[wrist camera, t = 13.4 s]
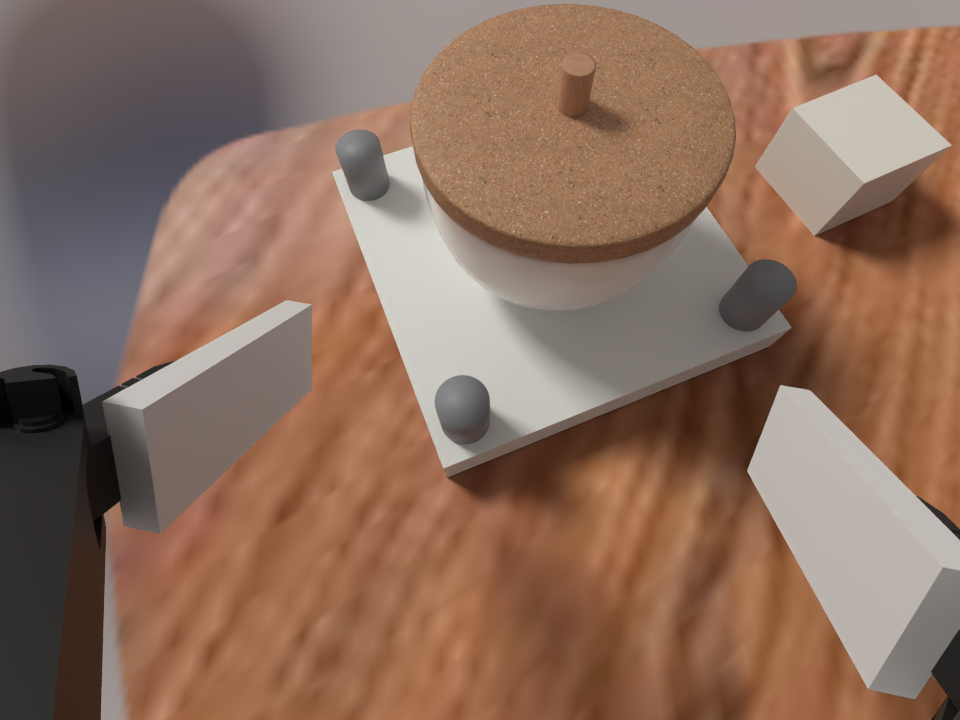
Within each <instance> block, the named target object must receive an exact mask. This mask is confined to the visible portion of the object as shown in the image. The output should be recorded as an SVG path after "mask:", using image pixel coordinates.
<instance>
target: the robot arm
mask: <svg viewBox="0 0 960 720" xmlns="http://www.w3.org/2000/svg"><path fill="white" fill-rule="evenodd" d="M311 390H312V305H311V304H305V303H299V302H293V301H288V300H286V301H284V302H283V303H281V304H279V305H277V306H275V307H273V308H272V309H270V310H268V311H266V312H264V313H263V314H261V315H259V316H257V317H255V318H253V319H252V320H250V321H248V322H246V323H244V324H243V325H241V326H239V327H237V328H235V329H233V330H232V331H230V332H228V333H226V334H224V335H222V336H221V337H219V338H217V339H215V340H213V341H212V342H210V343H208V344H206V345H204V346H202V347H201V348H199V349H197V350H195V351H193V352H192V353H190V354H188V355H186V356H184V357H182V358H181V359H179V360H176V361H172V362H169V363H165V364H162V365H158V366H155V367H153V368H151V369H149V370H147V371H145V372H143V373H141V374H140V375H138V376H136V379H135V378H132V379H130V380H128V381H126V382H125V383H123V384H122V386H117V387H115V388H113V389H111V390H110V391H108V392H106V393H104V394H102V395H100V396H98V397H96V398H95V399H93V400H91V401H89V402H87V403H85V404H83V405H82V401H81V396H80V390H79V386H78V380H77V376H76V373H75V371H74V370H72V369H69V368H67V367H64V366H56V365H32V366H25V367H19V368H13V369H10V370H6V371H2V372H0V720H101V718H100V717H101V686H102V684H101V683H102V652H103V651H102V650H103V619H104V585H105V551H106V525H105V520H104V515H103V514H104V513H105V512H106V511H108V510H109V509H110V508H111V507H113V506H114V505H115V504H117V503H118V502H119V501H120V506H121V512H122V517H123V523H124V526H127V527H132V528H136V529H141V530H145V531H150V532H155V533H159V534H160V533H161V532H163V531H164V530H165V529H166V528H167V527H168V526H169V525H170V524H171V523H172V522H173V521H174V520H175V519H176V518H177V517H178V516H179V515H180V514H181V513H182V512H184V511H185V510H186V509H187V508H188V507H189V506H190V505H191V504H192V503H193V502H194V501H195V500H196V499H197V498H198V497H199V496H200V495H201V494H202V493H203V492H205V491H206V490H207V489H208V488H209V487H210V486H211V485H212V484H213V483H214V482H215V481H216V480H217V479H218V478H219V477H220V476H221V475H222V474H223V473H225V472H226V471H227V470H228V469H229V468H230V467H231V466H232V465H233V464H234V463H235V462H236V461H237V460H238V459H239V458H240V457H241V456H242V455H243V454H244V453H246V452H247V451H248V450H249V449H250V448H251V447H252V446H253V445H254V444H255V443H256V442H257V441H258V440H259V439H260V438H261V437H262V436H263V435H264V434H265V433H267V432H268V431H269V430H270V429H271V428H272V427H273V426H274V425H275V424H276V423H277V422H278V421H279V420H280V419H281V418H282V417H283V416H284V415H285V414H286V413H288V412H289V411H290V410H291V409H292V408H293V407H294V406H295V405H296V404H297V403H298V402H299V401H300V400H301V399H302V398H303V397H304V396H305V395H306V394H307V393H309V392H310V391H311ZM747 472H748V474H749V475H750V477H751V479H752V481H753V483H754V484H755V486H756V488H757V490H758V492H759V493H760V495H761V497H762V499H763V501H764V502H765V504H766V506H767V508H768V510H769V511H770V513H771V515H772V517H773V519H774V521H775V522H776V524H777V526H778V528H779V530H780V531H781V533H782V535H783V537H784V539H785V540H786V542H787V544H788V546H789V548H790V549H791V551H792V553H793V555H794V557H795V558H796V560H797V562H798V564H799V566H800V567H801V569H802V571H803V573H804V575H805V576H806V578H807V580H808V582H809V584H810V585H811V587H812V589H813V591H814V593H815V594H816V596H817V598H818V600H819V602H820V603H821V605H822V607H823V609H824V611H825V612H826V614H827V616H828V618H829V620H830V621H831V623H832V625H833V627H834V629H835V630H836V632H837V634H838V636H839V638H840V640H841V641H842V643H843V645H844V647H845V649H846V650H847V652H848V654H849V656H850V658H851V659H852V661H853V663H854V665H855V667H856V668H857V670H858V672H859V674H860V676H861V677H862V679H863V681H864V683H865V685H866V686H867V688H868V689H870V690H874V691H879V692H883V693H888V694H892V695H897V696H901V697H906V698H911V699H916V698H917V696H918V695H919V693H920V692H921V690H922V689H923V687H924V686H925V684H926V683H927V681H928V680H929V678H930V677H931V675H932V674H933V675H934V677H935V678H936V680H937V681H938V683H939V684H940V685H941V687H942V688H943V690H944V691H945V693H946V694H947V696H948V697H947V698H946V699H945V701H944V702H943V704H942V705H941V707H940V708H939V709H938V711H937V712H936V714H935V715H934V716H933V718H932V719H931V720H960V529H959V528H958V527H957V526H956V525H955V524H954V523H953V522H952V521H951V520H950V519H949V518H948V517H947V516H946V515H945V514H944V513H942V512H940V511H939V510H937V509H936V508H934V507H933V506H931V505H930V504H928V503H927V502H925V501H924V500H922V499H921V498H919V497H918V496H915V495H914V494H913V493H912V492H911V491H910V490H909V489H908V488H907V487H906V486H905V485H904V484H903V483H902V482H901V481H900V480H899V479H898V478H897V477H896V476H895V475H894V474H893V473H892V472H891V471H890V470H889V469H888V468H887V467H886V466H885V465H884V464H883V463H882V462H881V461H880V460H879V459H878V458H877V457H876V456H875V455H874V454H873V453H872V452H871V451H870V450H869V449H868V448H867V447H866V446H865V445H864V444H863V443H862V442H861V441H860V440H859V439H858V438H857V437H856V436H855V435H854V434H853V433H852V432H851V431H850V430H849V429H848V428H847V427H846V426H845V425H844V424H843V423H842V422H841V421H840V420H839V419H838V418H837V417H836V416H835V415H834V414H833V413H832V412H831V411H830V410H829V409H828V408H827V407H826V406H825V405H824V404H823V403H822V402H821V401H820V400H819V399H818V398H817V397H816V396H815V395H814V394H813V393H812V392H811V391H810V390H806V389H800V388H794V387H788V386H783V385H780V387H779V390H778V392H777V395H776V398H775V400H774V403H773V405H772V408H771V411H770V413H769V416H768V418H767V421H766V423H765V426H764V429H763V431H762V434H761V436H760V439H759V442H758V444H757V447H756V449H755V452H754V454H753V457H752V460H751V462H750V465H749V467H748V470H747Z"/></svg>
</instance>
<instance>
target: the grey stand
mask: <svg viewBox="0 0 960 720" xmlns="http://www.w3.org/2000/svg"><path fill="white" fill-rule="evenodd" d="M336 153H337V156H338V159H339V162H340V164H341V167H342V169H340V170H337V171H333V172H332V173H333V176H334V179H335V181H336V184H337V187H338V189H339V192H340V195H341V197H342V200H343V202H344V205H345V208H346V210H347V213H348V216H349V218H350V221H351V224H352V226H353V229H354V232H355V234H356V237H357V240H358V242H359V245H360V248H361V250H362V253H363V256H364V258H365V261H366V264H367V266H368V269H369V272H370V274H371V277H372V280H373V282H374V285H375V288H376V290H377V293H378V296H379V298H380V301H381V304H382V306H383V309H384V312H385V314H386V317H387V320H388V322H389V325H390V328H391V330H392V333H393V336H394V338H395V341H396V343H397V346H398V349H399V351H400V354H401V357H402V359H403V362H404V365H405V367H406V370H407V373H408V375H409V378H410V381H411V383H412V386H413V389H414V391H415V394H416V397H417V399H418V402H419V405H420V407H421V410H422V413H423V415H424V418H425V421H426V423H427V426H428V429H429V431H430V434H431V437H432V439H433V442H434V445H435V447H436V450H437V453H438V455H439V458H440V461H441V463H442V466H443V469H444V471H445V473H446V476H447V477H450V476H452V475H455V474H457V473H460V472H462V471H465V470H467V469H470V468H472V467H475V466H477V465H479V464H482V463H484V462H487V461H489V460H492V459H494V458H497V457H499V456H502V455H504V454H506V453H509V452H511V451H514V450H516V449H519V448H521V447H524V446H526V445H529V444H531V443H534V442H536V441H538V440H541V439H543V438H546V437H548V436H551V435H553V434H556V433H558V432H561V431H563V430H565V429H568V428H570V427H573V426H575V425H578V424H580V423H583V422H585V421H588V420H590V419H593V418H595V417H597V416H600V415H602V414H605V413H607V412H610V411H612V410H615V409H617V408H620V407H622V406H624V405H627V404H629V403H632V402H634V401H637V400H639V399H642V398H644V397H647V396H649V395H652V394H654V393H656V392H659V391H661V390H664V389H666V388H669V387H671V386H674V385H676V384H679V383H681V382H683V381H686V380H688V379H691V378H693V377H696V376H698V375H701V374H703V373H706V372H708V371H710V370H713V369H715V368H718V367H720V366H723V365H725V364H728V363H730V362H733V361H735V360H738V359H740V358H742V357H745V356H747V355H750V354H752V353H755V352H757V351H760V350H762V349H765V348H767V347H769V346H770V345H772V344H773V343H774V342H775V341H777V340H778V339H779V338H780V337H781V336H783V335H784V334H785V333H786V332H787V331H789V330H790V329H791V328H792V327H791V326H790V324H789V323H788V322H787V320H786V319H785V317H784V316H783V315H782V313H781V312H780V310H779V309H780V308H781V307H782V306H783V305H784V304H786V303H787V302H788V301H789V300H790V299H791V298H792V297H793V296H794V294H795V292H796V289H797V283H796V279H795V277H794V275H793V273H792V272H791V271H790V270H789V269H788V268H787V267H786V266H784V265H783V264H781V263H779V262H776V261H773V260H758V261H755V262H753V263H752V264H750V265H749V266H748V265H747V264H746V262H745V261H744V259H743V258H742V257H741V255H740V254H739V252H738V251H737V249H736V248H735V247H734V245H733V244H732V242H731V241H730V240H729V238H728V237H727V235H726V234H725V232H724V231H723V230H722V228H721V227H720V225H719V224H718V223H717V221H716V220H715V218H714V217H713V215H712V214H711V213H710V211H709V210H708V208H707V207H706V208H705V209H704V210H703V211H702V213H701V214H700V215H699V216H698V217H697V218H696V220H695V221H694V223H693V225H692V226H691V228H690V229H689V231H688V232H687V234H686V235H685V237H684V238H683V240H682V241H681V243H680V244H679V245H678V247H677V248H676V249H675V250H674V251H673V252H672V254H671V255H670V256H669V257H668V258H667V259H666V260H665V261H664V262H663V263H662V264H661V265H660V267H659V268H658V269H657V270H656V271H655V272H653V273H652V274H651V275H650V276H649V277H647V278H646V279H645V280H644V281H642V282H641V283H640V284H638V285H637V286H636V287H634V288H633V289H632V290H630V291H628V292H626V293H624V294H622V295H620V296H618V297H616V298H614V299H612V300H610V301H608V302H605V303H602V304H599V305H596V306H593V307H590V308H584V309H579V310H573V311H546V310H536V309H532V308H528V307H523V306H519V305H516V304H514V303H511V302H509V301H506V300H504V299H501V298H500V297H498V296H496V295H494V294H493V293H491V292H489V291H488V290H486V289H485V288H483V287H482V286H481V285H480V284H479V283H477V282H476V281H475V280H474V279H472V278H471V277H470V276H469V275H468V274H467V273H466V272H465V271H464V270H463V269H462V267H461V266H460V265H459V264H458V263H457V262H456V261H455V259H454V258H453V256H452V254H451V253H450V251H449V250H448V248H447V246H446V245H445V243H444V241H443V239H442V238H441V236H440V234H439V232H438V229H437V227H436V224H435V222H434V219H433V216H432V214H431V211H430V208H429V206H428V203H427V199H426V194H425V190H424V186H423V180H422V177H421V174H420V172H419V169H418V167H417V164H416V160H415V155H414V149H413V146H412V147H409V148H406V149H403V150H399V151H396V152H393V153H390V154H387V155H384V156H383V153H382V149H381V145H380V142H379V139H378V137H377V136H376V135H375V134H374V133H372V132H370V131H367V130H353V131H350V132H347V133H346V134H344V135H343V136H341V137H340V139H339V140H338V141H337V144H336Z"/></svg>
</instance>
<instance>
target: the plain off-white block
mask: <svg viewBox="0 0 960 720" xmlns="http://www.w3.org/2000/svg"><path fill="white" fill-rule="evenodd" d="M951 146H952V145H951V144H950V143H949V142H948V141H947V140H946V139H945V138H943V137H942V136H941V135H940V134H939V133H938V132H937V131H936V130H935V129H934V128H933V127H932V126H931V125H930V124H928V123H927V122H926V121H925V120H924V119H923V118H922V117H921V116H920V115H919V114H918V113H917V112H916V111H915V110H913V109H912V108H911V107H910V106H909V105H908V104H907V103H906V102H905V101H904V100H903V99H902V98H901V97H900V96H898V95H897V94H896V93H895V92H894V91H893V90H892V89H891V88H890V87H889V86H888V85H887V84H886V83H885V82H883V81H882V80H881V79H880V78H879V77H878V76H877V75H874V76H872V77H869V78H867V79H864V80H862V81H859V82H857V83H854V84H852V85H849V86H847V87H844V88H842V89H839V90H837V91H834V92H832V93H829V94H827V95H824V96H822V97H819V98H817V99H814V100H812V101H809V102H807V103H804V104H802V105H799V106H797V107H794V108H792V110H791V111H790V113H789V114H788V116H787V118H786V119H785V121H784V122H783V124H782V125H781V127H780V128H779V130H778V132H777V133H776V135H775V136H774V138H773V139H772V141H771V142H770V144H769V146H768V147H767V149H766V150H765V152H764V153H763V155H762V156H761V158H760V160H759V161H758V163H757V164H756V166H755V168H756V169H757V170H758V171H759V172H760V173H761V175H762V176H763V177H764V178H765V179H766V180H767V182H768V183H769V184H770V185H771V186H772V187H773V188H774V190H775V191H776V192H777V193H778V194H779V195H780V197H781V198H782V199H783V200H784V201H785V202H786V204H787V205H788V206H789V207H790V208H791V209H792V210H793V212H794V213H795V214H796V215H797V216H798V217H799V219H800V220H801V221H802V222H803V223H804V224H805V226H806V227H807V228H808V229H809V230H810V231H811V233H812V234H813V235H814V236H815V235H818V234H820V233H822V232H824V231H827V230H829V229H831V228H833V227H836V226H838V225H840V224H842V223H845V222H847V221H849V220H851V219H854V218H856V217H858V216H860V215H863V214H865V213H867V212H869V211H871V210H874V209H876V208H878V207H880V206H883V205H885V204H887V203H889V202H892V201H893V200H894V199H895V198H896V197H897V196H898V195H899V194H900V193H901V192H903V191H904V190H905V189H906V188H907V187H908V186H909V185H910V184H911V183H912V182H913V181H914V180H915V179H916V178H917V177H919V176H920V175H921V174H922V173H923V172H924V171H925V170H926V169H927V168H928V167H929V166H930V165H931V164H932V163H933V162H935V161H936V160H937V159H938V158H939V157H940V156H941V155H942V154H943V153H944V152H945V151H946V150H947V149H948V148H949V147H951Z"/></svg>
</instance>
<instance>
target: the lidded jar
mask: <svg viewBox="0 0 960 720" xmlns="http://www.w3.org/2000/svg"><path fill="white" fill-rule="evenodd" d="M410 132H411V138H412V144H413V149H414V155H415V160H416V164H417V167H418V169H419V172H420V174H421V177H422V180H423V186H424V190H425V194H426V199H427V203H428V206H429V208H430V211H431V214H432V216H433V219H434V222H435V224H436V227H437V229H438V232H439V234H440V236H441V238H442V239H443V241H444V243H445V245H446V246H447V248H448V250H449V251H450V253H451V254H452V256H453V258H454V259H455V261H456V262H457V263H458V264H459V265H460V266H461V267H462V269H463V270H464V271H465V272H466V273H467V274H468V275H469V276H470V277H471V278H472V279H474V280H475V281H476V282H477V283H479V284H480V285H481V286H482V287H483V288H485V289H486V290H488V291H489V292H491V293H493V294H494V295H496V296H498V297H500V298H501V299H504V300H506V301H509V302H511V303H514V304H516V305H519V306H523V307H528V308H532V309H536V310H546V311H573V310H579V309H584V308H590V307H593V306H596V305H599V304H602V303H605V302H608V301H610V300H612V299H614V298H616V297H618V296H620V295H622V294H624V293H626V292H628V291H630V290H632V289H633V288H634V287H636V286H637V285H638V284H640V283H641V282H642V281H644V280H645V279H646V278H647V277H649V276H650V275H651V274H652V273H653V272H655V271H656V270H657V269H658V268H659V267H660V265H661V264H662V263H663V262H664V261H665V260H666V259H667V258H668V257H669V256H670V255H671V254H672V252H673V251H674V250H675V249H676V248H677V247H678V245H679V244H680V243H681V241H682V240H683V238H684V237H685V235H686V234H687V232H688V231H689V229H690V228H691V226H692V225H693V223H694V221H695V220H696V218H697V217H698V216H699V215H700V214H701V213H702V211H703V210H704V209H705V208H706V207H707V205H708V204H709V202H710V201H711V199H712V197H713V196H714V194H715V193H716V191H717V190H718V188H719V186H720V185H721V183H722V182H723V180H724V178H725V176H726V174H727V171H728V169H729V166H730V163H731V161H732V158H733V154H734V147H735V140H736V130H735V117H734V113H733V110H732V106H731V103H730V99H729V97H728V94H727V92H726V90H725V88H724V86H723V84H722V82H721V80H720V78H719V76H718V75H717V74H716V72H715V71H714V70H713V69H712V67H711V66H710V65H709V63H708V62H707V61H706V60H705V59H704V58H703V57H702V56H701V55H700V54H699V53H698V52H697V51H696V50H695V49H694V48H693V47H692V46H690V45H689V44H688V43H686V42H684V41H683V40H682V39H681V38H679V37H678V36H676V35H675V34H673V33H671V32H670V31H668V30H666V29H664V28H663V27H661V26H659V25H657V24H655V23H653V22H650V21H648V20H645V19H643V18H640V17H638V16H635V15H632V14H628V13H625V12H622V11H618V10H615V9H609V8H603V7H597V6H590V5H577V4H556V5H543V6H535V7H528V8H522V9H519V10H515V11H512V12H508V13H504V14H501V15H499V16H496V17H494V18H491V19H488V20H485V21H483V22H481V23H479V24H478V25H476V26H474V27H472V28H470V29H469V30H467V31H465V32H464V33H462V34H461V35H460V36H458V37H457V38H455V39H454V40H453V41H451V42H450V43H449V44H448V45H447V46H446V47H445V48H444V49H443V50H442V51H441V52H440V53H439V54H438V55H437V56H436V58H435V59H434V60H433V61H432V63H431V64H430V65H429V67H428V68H427V69H426V71H425V72H424V74H423V76H422V78H421V80H420V82H419V84H418V87H417V89H416V91H415V94H414V98H413V102H412V106H411V113H410Z"/></svg>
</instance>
